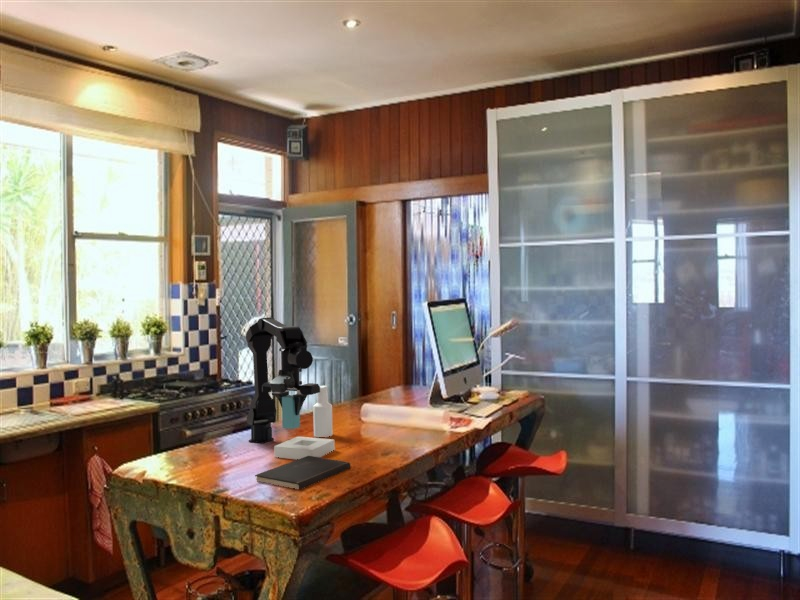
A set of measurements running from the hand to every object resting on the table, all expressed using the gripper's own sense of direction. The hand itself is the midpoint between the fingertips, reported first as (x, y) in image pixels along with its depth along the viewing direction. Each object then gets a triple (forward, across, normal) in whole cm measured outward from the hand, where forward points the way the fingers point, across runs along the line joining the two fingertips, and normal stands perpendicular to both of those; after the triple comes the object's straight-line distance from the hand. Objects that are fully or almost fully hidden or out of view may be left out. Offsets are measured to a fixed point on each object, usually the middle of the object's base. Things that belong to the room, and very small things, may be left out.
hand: (291, 414), depth 202 cm
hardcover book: (+14, +15, -16) cm, 26 cm away
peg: (+4, 0, 0) cm, 4 cm away
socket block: (+13, +3, +3) cm, 14 cm away
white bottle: (+13, -5, +27) cm, 31 cm away
